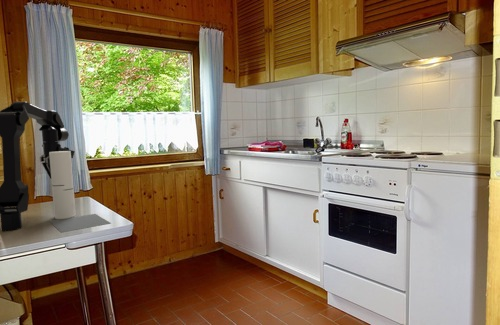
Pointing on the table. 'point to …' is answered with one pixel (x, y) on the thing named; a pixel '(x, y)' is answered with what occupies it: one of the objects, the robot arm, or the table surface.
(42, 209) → the table surface
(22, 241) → the table surface
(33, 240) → the table surface
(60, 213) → the cylindrical container
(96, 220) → the mat
